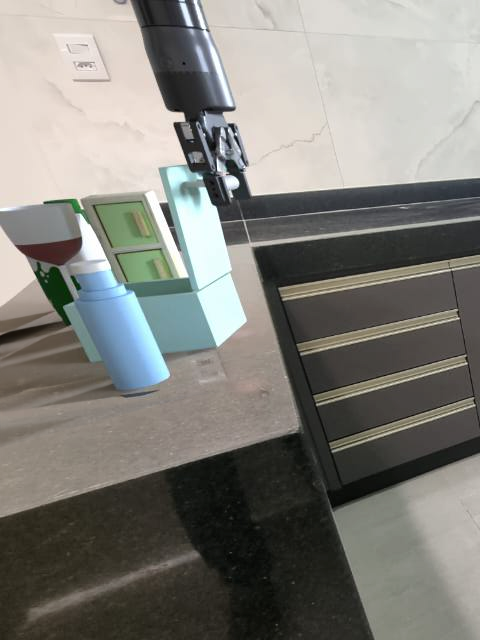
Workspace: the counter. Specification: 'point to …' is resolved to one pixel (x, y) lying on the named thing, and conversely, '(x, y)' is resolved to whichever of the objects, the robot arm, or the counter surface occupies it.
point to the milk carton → (67, 264)
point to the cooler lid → (196, 224)
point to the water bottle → (118, 328)
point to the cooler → (178, 314)
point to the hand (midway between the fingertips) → (233, 202)
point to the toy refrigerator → (134, 236)
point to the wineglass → (45, 234)
